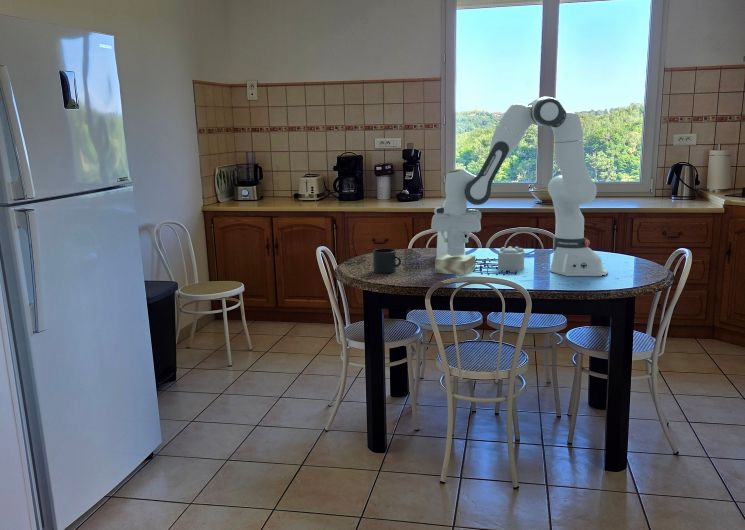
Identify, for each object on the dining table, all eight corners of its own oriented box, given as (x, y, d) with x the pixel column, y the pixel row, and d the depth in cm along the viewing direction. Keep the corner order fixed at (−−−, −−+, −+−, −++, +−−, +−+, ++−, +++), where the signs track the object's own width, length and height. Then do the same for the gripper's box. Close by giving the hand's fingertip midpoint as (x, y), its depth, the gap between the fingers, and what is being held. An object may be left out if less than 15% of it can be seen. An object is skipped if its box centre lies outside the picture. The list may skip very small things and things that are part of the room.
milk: (436, 258, 298) (436, 201, 293) (439, 254, 309) (440, 199, 304) (462, 259, 295) (463, 202, 290) (465, 254, 306) (466, 199, 301)
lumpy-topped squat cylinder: (496, 269, 273) (496, 249, 271) (502, 263, 285) (502, 244, 283) (521, 271, 269) (521, 250, 267) (526, 265, 281) (526, 245, 279)
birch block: (475, 269, 275) (475, 255, 274) (465, 275, 264) (465, 261, 263) (445, 267, 281) (446, 253, 280) (434, 273, 270) (435, 259, 268)
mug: (396, 275, 266) (396, 253, 264) (369, 273, 270) (369, 251, 268) (404, 270, 274) (404, 249, 272) (378, 268, 279) (378, 247, 277)
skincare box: (459, 253, 274) (460, 225, 271) (464, 255, 270) (465, 226, 267) (446, 254, 272) (447, 225, 269) (451, 256, 268) (451, 227, 265)
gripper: (482, 208, 267) (482, 241, 270) (433, 207, 273) (433, 240, 276) (480, 210, 261) (480, 244, 264) (430, 209, 267) (430, 242, 270)
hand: (455, 242), depth 270 cm, fingers closed on skincare box, 7 cm apart
